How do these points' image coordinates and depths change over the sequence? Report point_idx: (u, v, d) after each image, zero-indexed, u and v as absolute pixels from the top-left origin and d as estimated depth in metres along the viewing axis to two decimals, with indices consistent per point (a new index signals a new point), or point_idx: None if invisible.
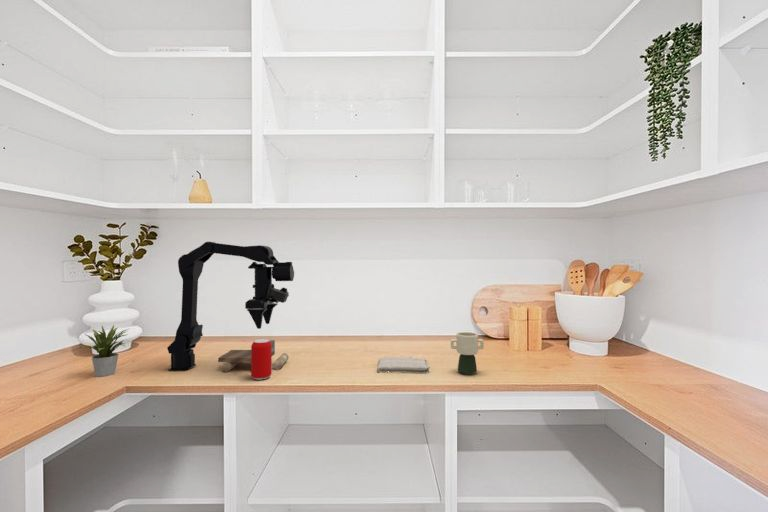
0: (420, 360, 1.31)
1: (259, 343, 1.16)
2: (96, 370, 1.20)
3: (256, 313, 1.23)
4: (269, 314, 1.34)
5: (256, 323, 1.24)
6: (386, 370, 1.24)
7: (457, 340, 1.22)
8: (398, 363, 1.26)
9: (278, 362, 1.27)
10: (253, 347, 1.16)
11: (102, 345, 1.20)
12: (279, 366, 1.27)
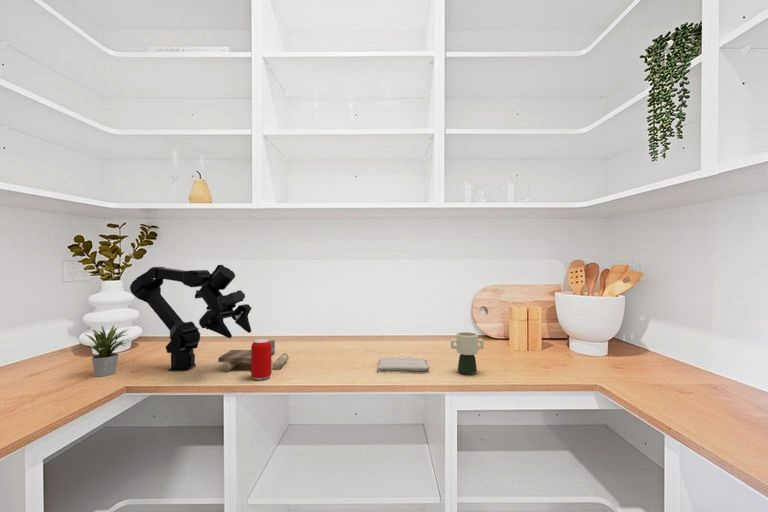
0: (420, 360, 1.31)
1: (259, 343, 1.16)
2: (96, 370, 1.20)
3: (217, 326, 1.17)
4: (246, 323, 1.26)
5: (224, 334, 1.17)
6: (386, 370, 1.24)
7: (457, 340, 1.22)
8: (398, 363, 1.26)
9: (278, 362, 1.27)
10: (253, 347, 1.16)
11: (102, 345, 1.20)
12: (279, 366, 1.27)
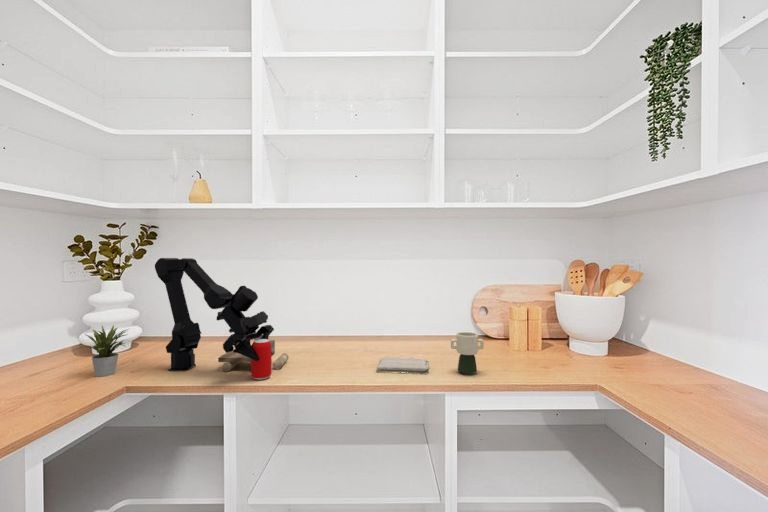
0: (421, 361, 1.30)
1: (259, 343, 1.16)
2: (96, 370, 1.20)
3: (245, 349, 1.15)
4: None
5: (252, 357, 1.15)
6: (385, 370, 1.24)
7: (457, 340, 1.22)
8: (398, 363, 1.26)
9: (278, 362, 1.27)
10: (253, 347, 1.16)
11: (102, 345, 1.20)
12: (279, 366, 1.27)
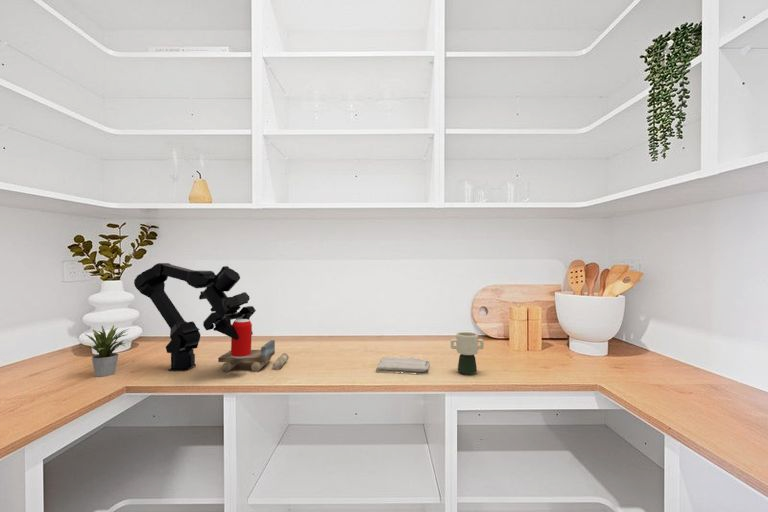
0: (421, 361, 1.29)
1: (239, 322, 1.18)
2: (96, 370, 1.20)
3: (225, 327, 1.17)
4: None
5: (231, 336, 1.17)
6: (385, 370, 1.24)
7: (457, 340, 1.22)
8: (398, 363, 1.26)
9: (278, 362, 1.27)
10: (233, 326, 1.18)
11: (102, 345, 1.20)
12: (279, 366, 1.27)
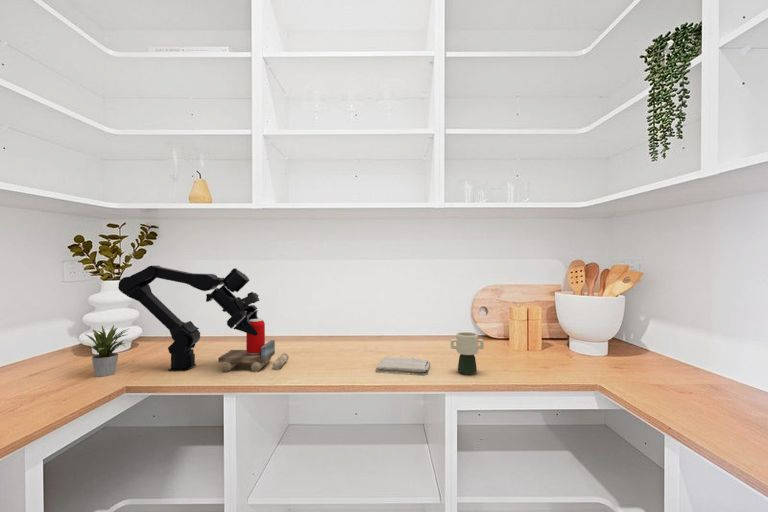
0: (422, 362, 1.29)
1: (257, 321, 1.29)
2: (96, 370, 1.20)
3: (243, 325, 1.25)
4: None
5: (251, 332, 1.26)
6: (384, 370, 1.24)
7: (457, 340, 1.22)
8: (397, 364, 1.26)
9: (278, 362, 1.27)
10: None
11: (102, 345, 1.20)
12: (279, 366, 1.27)
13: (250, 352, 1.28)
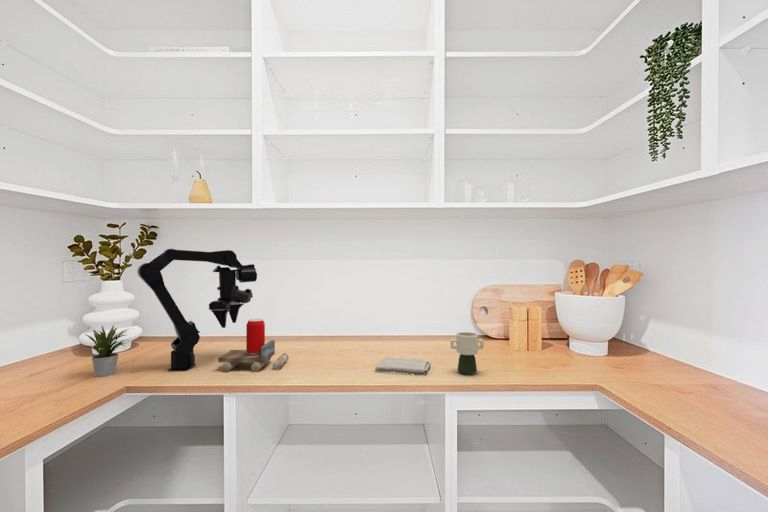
0: (422, 362, 1.28)
1: (257, 321, 1.29)
2: (96, 370, 1.20)
3: (220, 313, 1.33)
4: (235, 314, 1.43)
5: (220, 323, 1.33)
6: (384, 370, 1.24)
7: (457, 340, 1.22)
8: (397, 364, 1.26)
9: (278, 362, 1.27)
10: (251, 325, 1.28)
11: (102, 345, 1.20)
12: (279, 366, 1.27)
13: (250, 352, 1.28)
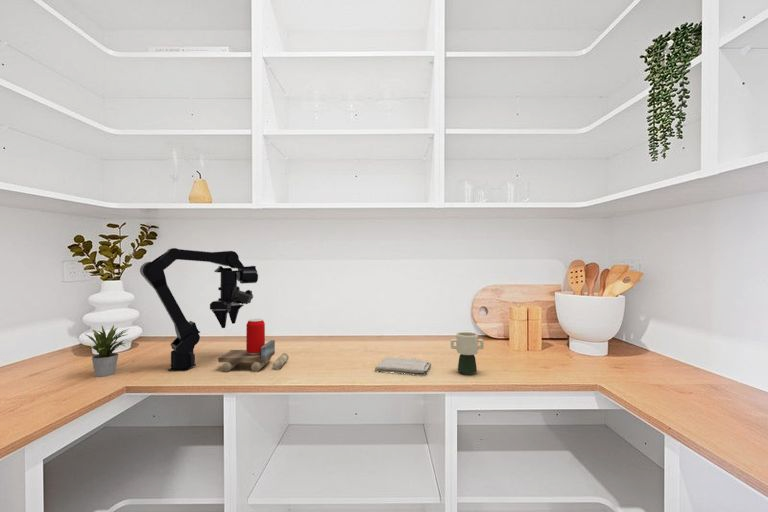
0: (422, 362, 1.28)
1: (257, 321, 1.29)
2: (96, 370, 1.20)
3: (220, 314, 1.33)
4: (235, 314, 1.44)
5: (220, 323, 1.34)
6: (383, 370, 1.24)
7: (457, 340, 1.22)
8: (397, 364, 1.26)
9: (278, 362, 1.27)
10: (251, 325, 1.28)
11: (102, 345, 1.20)
12: (279, 366, 1.27)
13: (250, 352, 1.28)
